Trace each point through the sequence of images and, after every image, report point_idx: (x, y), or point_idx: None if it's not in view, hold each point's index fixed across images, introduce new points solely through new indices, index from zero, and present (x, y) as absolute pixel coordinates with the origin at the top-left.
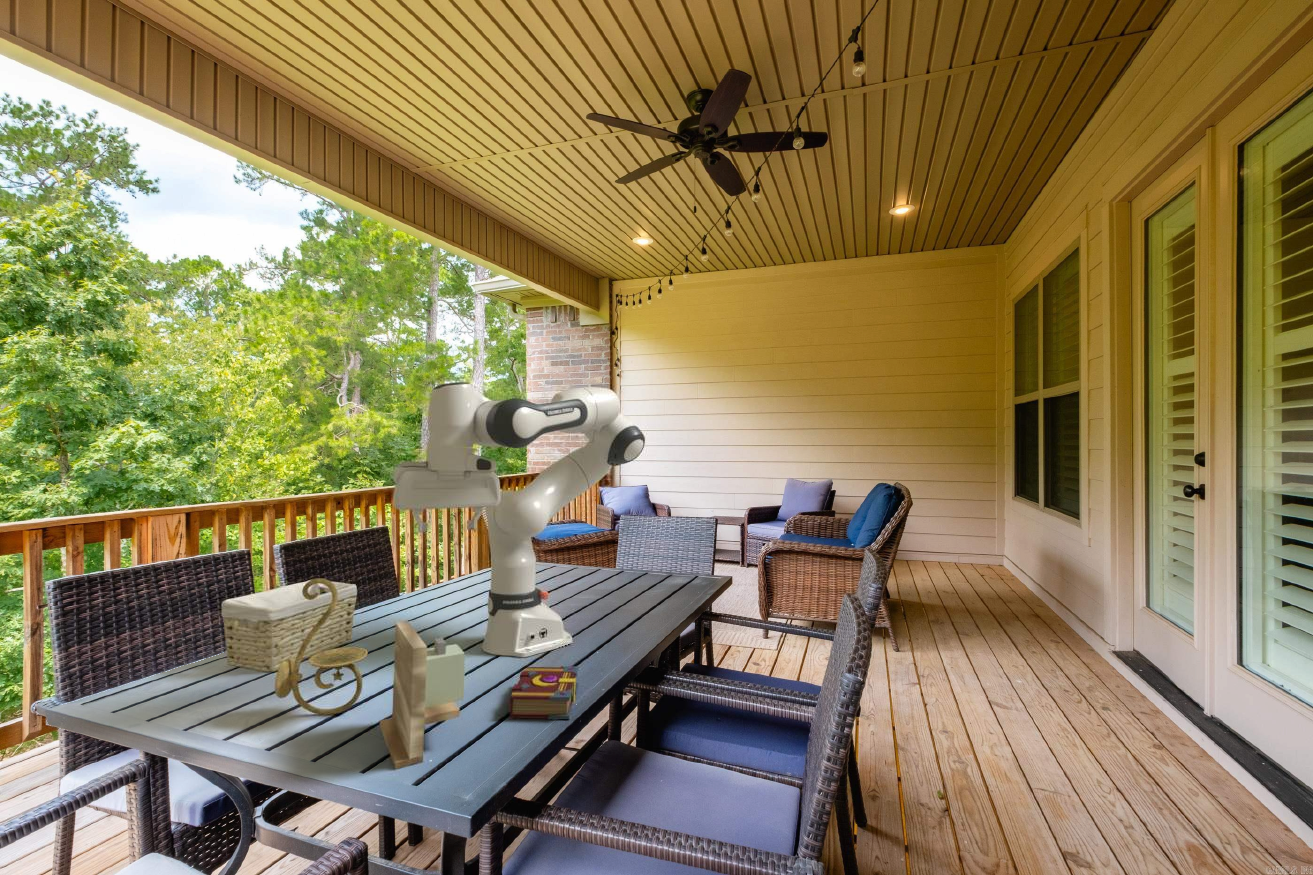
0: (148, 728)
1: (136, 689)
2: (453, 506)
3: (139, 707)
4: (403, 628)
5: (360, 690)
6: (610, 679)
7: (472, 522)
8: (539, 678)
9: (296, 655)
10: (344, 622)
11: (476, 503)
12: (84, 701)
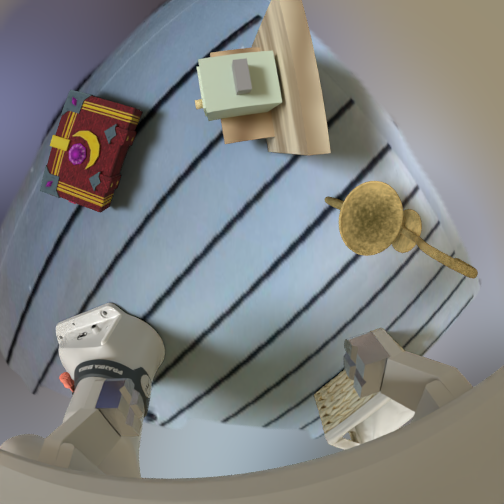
0: (454, 236)
1: (453, 315)
2: (218, 484)
3: (456, 280)
4: (317, 101)
5: (327, 197)
6: (21, 197)
7: (103, 403)
8: (89, 162)
9: None
10: (328, 404)
11: (47, 483)
12: (472, 300)
